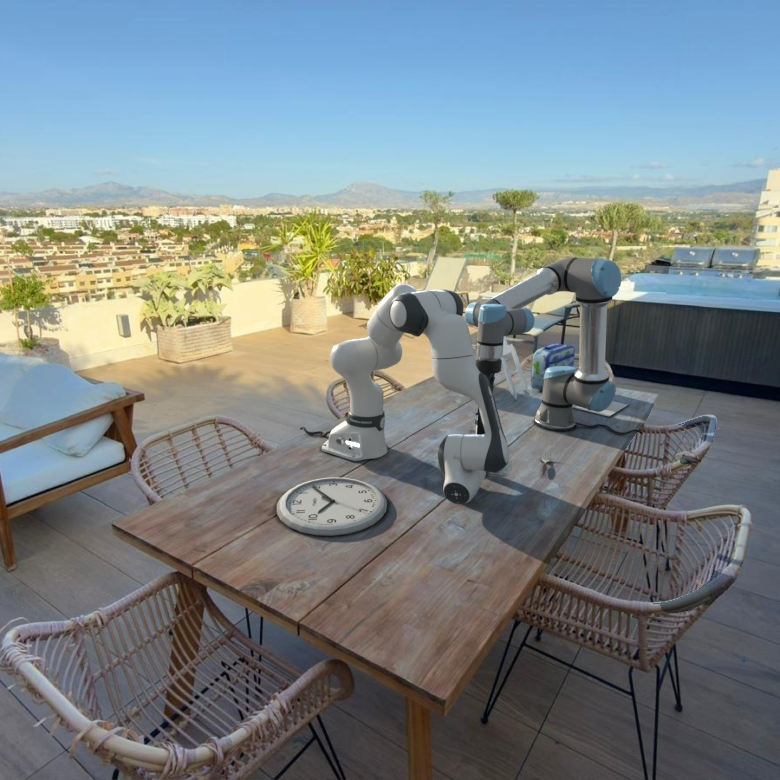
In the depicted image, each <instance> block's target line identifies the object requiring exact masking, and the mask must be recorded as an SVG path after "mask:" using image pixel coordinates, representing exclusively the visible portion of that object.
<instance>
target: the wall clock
mask: <svg viewBox="0 0 780 780" xmlns="http://www.w3.org/2000/svg"><path fill="white" fill-rule="evenodd" d="M387 509H388V500H387V498H386V496H385V494H384V493H383V492H382V491H381V490H380V489H379V488H377V487H376V486H374V485H372V484H371V483H369V482H365V481H362V480H359V479H355V478H349V477H338V476H337V477H335V476H333V477H332V476H331V477H322V478H317V479H312V480H307V481H305V482H302V483H299V484H297V485H295V486H293V487H292V488H290V489H288V490H287V491H286V492H285V493H284V494H283V495H281V496H280V498H279V499H278V502H277V503H276V515H277V517H278V518H279V520H280V521H281V522H282V523H283V524H285V525H286V526H287V527H288V528H290V529H293V530H295V531H297V532H299V533H303V534H308V535H312V536H327V537H328V536H329V537H331V536H332V537H333V536H342V535H350V534H352V533H356V532H361V531H363V530H366V529H368V528H369V527H372V526H373V525H375V524H376V523H378V522H379V521H380V520H381V519H382V518H383V517H384V516H385V514H386V512H387Z"/></svg>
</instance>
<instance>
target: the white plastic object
mask: <svg viewBox="0 0 780 780" xmlns="http://www.w3.org/2000/svg"><path fill="white" fill-rule="evenodd" d="M475 346H476V345H473V346H472V348H473V358H474V362H475V364H476V358H477V356H476V353H477V349H475ZM501 360H502V365H501V368H502V370H503V373H504V376H505V380H506V383H507V386H508V390H509V393H510V394H511V395H512V397H513V398H514V399H515V400H517V392H516V391H517V390H516V388H515V385H514V381H513V378H512V375H511V371H510V369H509V365H508V361H510V360H513V363H514V366H515V369H516V372H517V376H518V380H519V382H520V385H521V389H522V391H523V393H524V395H525V396H526V397H528V396H531V395H530V390H529V388H528V387H529V386H528V384H527V381H526V378H525V375H524V371H523V369H522V368H523V367H522V366H521V362H520V359H519V355H518V352H517V349H516V347H515V346H514V345H513V343H511V344H508V341H507V336H504V341H503V355H502V358H501ZM480 373H481V372H480ZM482 374H483V373H482Z"/></svg>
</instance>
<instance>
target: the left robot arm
mask: <svg viewBox="0 0 780 780" xmlns="http://www.w3.org/2000/svg"><path fill="white" fill-rule="evenodd" d="M464 309H465V308H464V303H463V299H462V297H461V296H460V295H459V294H458V293H457V292H455V291H453V290H449V289H425V290H417V289H416V288H415V287H414V286H412V285H410V284H408V283H399V284H396V285H394V287H393V288H392V289H390V290H389V291H388V292H387V294H385V296H384V297H383V298H382V299H381V301H379V304H377V307H376V308H375V310H374V312H372V315H371V316H370V317H369V319H368V321H367V323H366V331H367V335H368V336H366V337H361V338H354V339H348V340H345V341H341V342H339V343H337V344H335V345H333V347H332V348H331V350H330V354H329V362H330V365H331V367H332V369H333V370H334V372H335V373H336V374H338V375H340V376H341V377H342V378H343V379H344V381H345V383H346V385H347V387H348V393H349V409H348V410H346V411H345V413H343V414H342V415H343V416H342V418H345V419H344V420H343V421H341V422H340V423H339V424H337V425H336V426H335V427H333V428H332V429H330V430H327V431H325V433H324V432H323V431H320V430H318V431H317V430H316V431H308V429H307V428H306V427H305V426H301V427H299V430H301V431H304V433H306V434H308V435H318V434H319V435H321V436H322V437H327V435H328V439H327V440H325V442H323V443H322V445H321V451H322V452H324V453H327V454H330V455H334V456H336V457H340V458H343V459H346V460H349V461H352V462H360V461H363V460H371V459H378V458H381V457H383V456H385V455H386V454H388V451H389V449H388V445H387V443H386V442H387V441H386V437H385V423H386V418H385V417H386V415H385V413H386V412H385V410H384V395H385V394H384V389H383V388H382V385H380V384H379V383H377V382H375V381H373V380H372V372H376V371H381V370H386V369H389V368H391V367H393V366H396V365H397V364H399V363H400V361H401V360H402V357H403V346H402V344H401V343H400V340H401V339H402V337H403V336H404V335H405V334H410V335H412V336H414V337H416V338H417V337H420V336H421V335H425V337H426V338H427V339H428V341H429V346H430V358H431V359H430V360H431V368H432V373H433V377H434V379H435V380H436V381H437V383H438V384H440V385H441V386H442V387H443V388H445V389H447V390H449V391H451V392H454V393H457V394H460V395H463V396H466V397H467V398H469V399H471V400H472V401H473V402H474V403H475V404H476V405H477V408H478V407H479V411H480V415H481V418H482V422H483V426H484V430H485V434H476V433H474V434H473V433H472V434H471V433H470V434H467V433H451V434H450V433H448V434H447V435H446V436H444V438H443V439H442V441H441V442H440V444H439V446H438V450H437V462H438V465H439V469H440V470H441V472H442V475H444V481H443V487H442V490H443V496H444V497H445V499H447V500H448V501H449V502H451V503H452V504H456V505H466V504H467V503H469V502H471V501H472V500H473V498H474V497H476V495H477V493H478V491H479V489H480V488H481V485H483V482H484V480H485V479H486V477H487V476H489V477H494V478H505V477H507V476H509V474H510V472H511V471H512V465H513V460H512V458H510V448H509V445H508V441H507V439H506V436H505V434H504V433H505V432H504V430H503V426H502V423H501V418H500V415H499V411H498V407H497V402H496V399H495V396H494V391H493V392H492V388H491V385H490V382H489V380H488V378H487V376H486V375H484V374H482V373H480V371H479V370H478V368H477V366H476V364H475V362H474V358H473V348H472V347H473V342H472V337H471V332H470V328H469V324H468V323H467V322H466V319H465V317H464V316H463V315H464V311H465V310H464Z"/></svg>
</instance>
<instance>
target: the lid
mask: <svg viewBox="0 0 780 780" xmlns="http://www.w3.org/2000/svg"><path fill="white" fill-rule="evenodd" d="M474 424H475V426H476V425H477V424H478V415H476V416H475V419H474Z"/></svg>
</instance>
